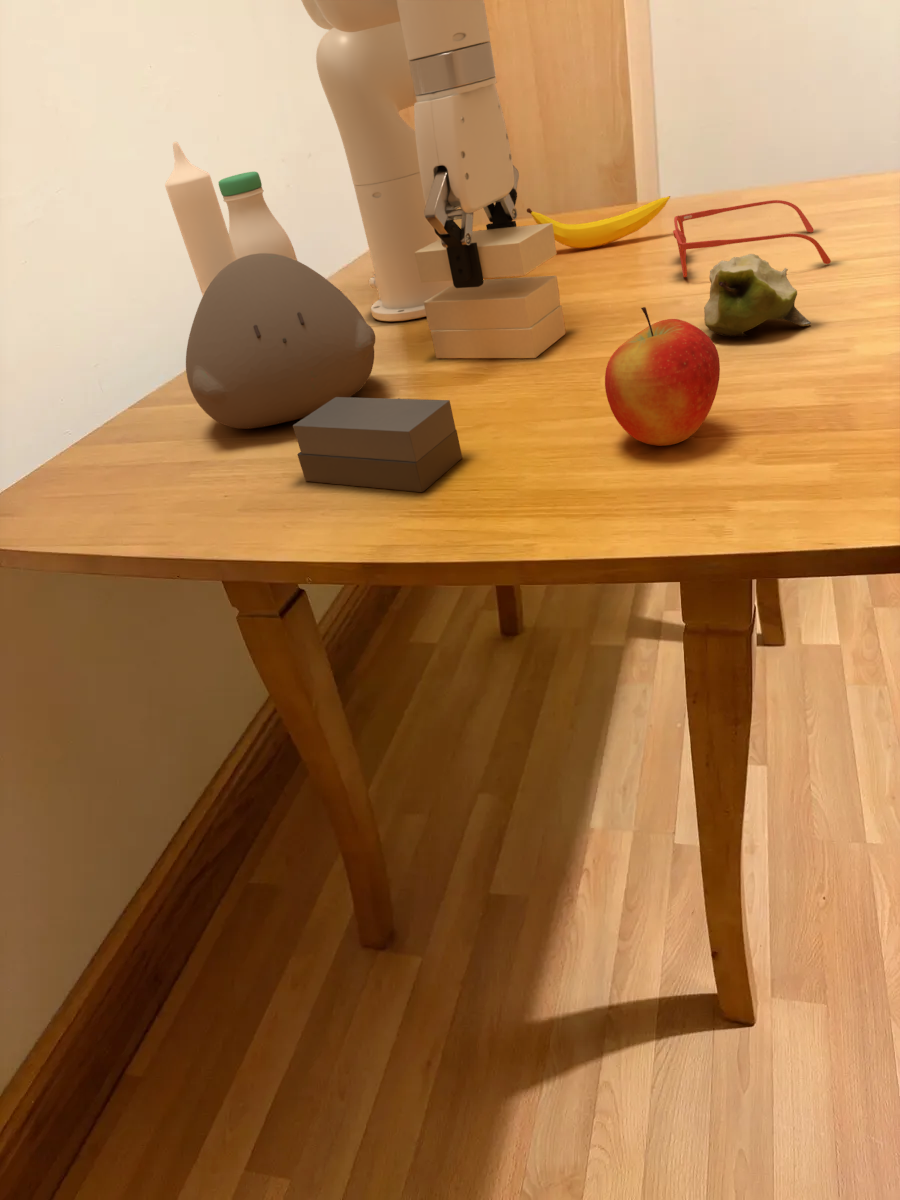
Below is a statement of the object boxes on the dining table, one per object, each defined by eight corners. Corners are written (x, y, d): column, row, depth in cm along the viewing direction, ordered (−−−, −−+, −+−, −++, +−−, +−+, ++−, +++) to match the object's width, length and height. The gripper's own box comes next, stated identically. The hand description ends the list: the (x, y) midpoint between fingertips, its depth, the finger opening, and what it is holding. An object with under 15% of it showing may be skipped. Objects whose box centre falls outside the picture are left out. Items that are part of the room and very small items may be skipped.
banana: (672, 238, 119) (669, 186, 115) (531, 259, 124) (524, 211, 121) (673, 232, 121) (670, 182, 117) (535, 253, 127) (528, 206, 123)
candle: (297, 373, 101) (223, 129, 88) (267, 398, 96) (184, 141, 83) (244, 378, 104) (165, 141, 91) (213, 402, 98) (124, 154, 85)
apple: (701, 465, 63) (693, 324, 58) (595, 459, 67) (578, 327, 62) (736, 418, 68) (732, 285, 63) (636, 414, 73) (624, 290, 67)
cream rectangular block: (420, 282, 91) (414, 252, 90) (456, 262, 96) (450, 233, 94) (524, 275, 85) (518, 242, 83) (556, 254, 89) (552, 222, 88)
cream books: (434, 358, 96) (422, 302, 93) (468, 335, 100) (457, 280, 97) (535, 358, 89) (526, 297, 86) (566, 333, 94) (558, 275, 91)
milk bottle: (332, 338, 111) (284, 163, 100) (299, 361, 105) (244, 178, 95) (282, 342, 114) (230, 172, 104) (247, 364, 109) (189, 188, 98)
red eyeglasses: (675, 251, 113) (672, 208, 110) (812, 229, 108) (812, 184, 106) (675, 290, 99) (672, 243, 96) (832, 267, 94) (833, 217, 92)
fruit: (753, 366, 80) (731, 280, 76) (690, 353, 88) (666, 275, 84) (834, 316, 81) (816, 229, 77) (764, 308, 89) (745, 229, 85)
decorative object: (358, 360, 101) (321, 220, 93) (406, 403, 86) (367, 241, 78) (198, 410, 97) (145, 269, 89) (219, 464, 82) (158, 300, 74)
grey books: (305, 481, 75) (287, 425, 72) (348, 450, 79) (332, 396, 76) (422, 492, 68) (408, 432, 66) (462, 457, 72) (450, 399, 70)
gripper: (467, 68, 89) (498, 252, 98) (365, 98, 78) (411, 304, 87) (533, 53, 85) (559, 247, 94) (436, 83, 74) (477, 300, 83)
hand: (488, 273), depth 91 cm, fingers closed on cream rectangular block, 7 cm apart
